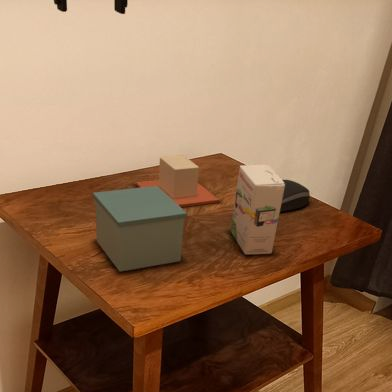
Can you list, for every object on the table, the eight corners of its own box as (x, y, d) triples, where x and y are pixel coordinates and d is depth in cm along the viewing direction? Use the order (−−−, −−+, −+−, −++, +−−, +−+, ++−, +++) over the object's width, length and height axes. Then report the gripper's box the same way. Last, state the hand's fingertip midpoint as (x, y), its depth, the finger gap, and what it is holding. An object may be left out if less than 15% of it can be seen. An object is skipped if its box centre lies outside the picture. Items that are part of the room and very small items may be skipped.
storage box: (118, 273, 78) (118, 222, 73) (94, 240, 85) (92, 192, 80) (183, 261, 83) (187, 213, 78) (155, 232, 90) (157, 185, 85)
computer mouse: (246, 203, 103) (249, 182, 100) (290, 191, 109) (294, 172, 107) (272, 217, 99) (276, 196, 96) (316, 204, 105) (321, 184, 103)
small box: (172, 198, 100) (174, 169, 96) (158, 185, 104) (159, 157, 101) (196, 195, 102) (199, 167, 98) (181, 183, 106) (183, 155, 103)
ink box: (229, 231, 92) (238, 163, 85) (256, 230, 94) (267, 163, 86) (244, 255, 86) (255, 183, 79) (272, 254, 87) (287, 183, 80)
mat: (161, 210, 97) (161, 206, 96) (135, 185, 105) (135, 182, 104) (218, 202, 102) (219, 199, 101) (190, 179, 110) (190, 176, 109)
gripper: (134, -122, 82) (132, 10, 93) (19, -139, 75) (31, 6, 85) (154, -122, 77) (150, 17, 88) (33, -140, 70) (44, 13, 80)
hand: (91, 11), depth 86 cm, fingers open, 9 cm apart
